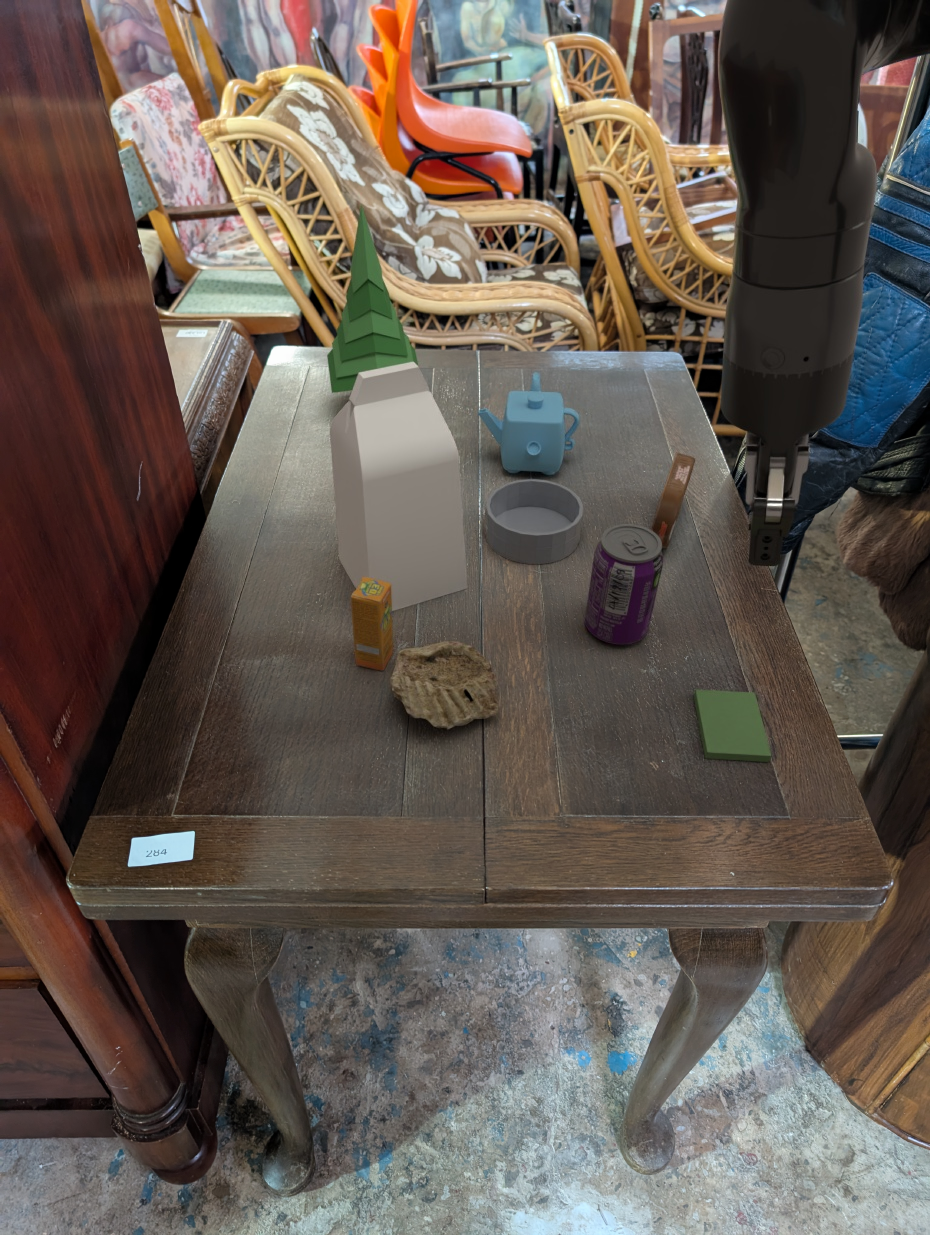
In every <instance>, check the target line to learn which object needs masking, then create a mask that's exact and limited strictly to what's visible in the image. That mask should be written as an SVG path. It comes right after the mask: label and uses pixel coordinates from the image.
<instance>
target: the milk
mask: <svg viewBox="0 0 930 1235" xmlns="http://www.w3.org/2000/svg"><path fill="white" fill-rule="evenodd" d="M329 438H330V439H329V440H330V452H331V465H332V478H333V492H334V504H335V506H334V508H335V518H336V531H337V544H338V545H337V547H338V558H339V562H340V563H341V566H342V567H343V569H344V571H345V572H346V574H347V576H348V578H349V579H350V581H351V584H352V585H353V587H354V588H355V590H356V589H357V587H358V586H359V584H360V583H361V579H362V577H368V578H372V579H376V580H381V581H384V582H388V583H390V584H391V597H392V612H395V611H398V610H401V609H405V608H408V607H412V606H415V605H419V604H421V603H424V602H428V601H431V600H434V599H437V598H438V599H439V598H440V597H444V596H447V595H450V594H453V593H458V592H460V591H463V590H467V589H468V588H469V586H468V573H467V558H466V541H465V529H464V528H465V527H464V515H463V513H464V512H463V499H462V484H461V470H460V469H461V468H460V467H461V466H460V457H459V456H460V455H459V450H458V447H457V444H456V442H455V439H454V436H453V435H452V432H451V430H450V428H449V426H448V424H447V422H446V419H445V418H444V416H443V414H442V412H441V409H440V408H439V406H438V404H437V402H436V400H435V398H434V396H433V393H432V392H431V391H430V388H429V385H428V383H427V381H426V379H425V377H424V375H423V373H422V371H421V368H420V367H419V365H418V366H417V365H416V364H415V363H414V362H409V363H404V364H399V365H394V366H389V367H384V368H379V369H374V370H369V371H364V372H359V373H358V376H357V379H356V381H355V384H354V387H353V390H351V393H350V395H349V400H348V401H347V402H346V403H345V404H344V406H342V407H341V409H340V410H339V411H338V413H337V414H336V415H334V417H333V418H332V420H331V423H330V427H329Z"/></svg>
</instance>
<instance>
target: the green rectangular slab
mask: <svg viewBox="0 0 930 1235" xmlns="http://www.w3.org/2000/svg"><path fill="white" fill-rule="evenodd" d="M693 701H694V706H695V712H696V717H697V722H698V727H699V733H700V738H701V743H702V749H703V753H704V759H706V760H707V759H708V760H724V761H727V760H728V761H741V762H759V763H769V762H770V760H771V759H772V752H771V749H770V745H769V741H768V737H767V734H766V730H765V726H764V721H763V718H762V714H761V710H760V707H759V703H758V700H757V695H756V692H749V691H732V690H713V689H695V690H694V693H693Z"/></svg>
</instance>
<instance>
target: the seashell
mask: <svg viewBox="0 0 930 1235" xmlns="http://www.w3.org/2000/svg"><path fill="white" fill-rule="evenodd" d="M389 681H390V683H389V684H390V687H391V692H393V696H394V697H395V698H396V699H397V700H399V701H401V702H402V704H403V706H404V708H405V710H406V713H407V714H408V715H409V716H410V717H411V718H413V719H420V718H421V719H424V720H427V721H428V722H429V723H430V724H431V726H432V727H435V728H438V729H447V730H450V729H452V728H454V727H462V726H465V725H468V724H469V723H470V722H473V721H474V720H480V719H483V720H485V719H489V718H490V717H495V716H497V713H498V712H499V704H498V693H497V691H498V690H497V688H496V684H495V683H496V682H497V681H498V676H497V675H496V674H495V672H493V666H492V664H490V663H489V662H488V661H487V659H486V658H485V656H484V655H483V654H482V653H480V652H479V651H478V650H476V649H475V647H474V646H473V645H471V644H465V643H464V642H461V641H456V640H455V641H451V640H445V641H440V642H437V643H431V644H428V645H424V646H420V647H417V646H416V647H410V648H404V649H401V650H399V651H398V653H397V656H396V662H395V666H394V668H393V671H392V675H391V676H390V680H389Z"/></svg>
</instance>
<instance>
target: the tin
mask: <svg viewBox="0 0 930 1235" xmlns="http://www.w3.org/2000/svg"><path fill="white" fill-rule="evenodd" d="M695 463H696V458H695V457H694V456H690V455H688V454H682V453H679V452H678V451H676V453H675V455H674V458H673V461H672V462H671V467H670V469H669V472H668V475H667V477H666V481H665V484H664V487H663V489H662V492H661V496H660V499H659V501H658V504H657V508H656V511H655V515H654V516H653V522H652V525H651V528H650V530H652V531H653V532H654V533H656V534H657V535H658V536H659V538H660V539H661V542H662V549H663V548H664V549H667V548H668V547H669V545H670V542H671V539H672V537H673V533H674V531H675V527H676V523H677V521H678V517H679V513H680V511H681V508H682V504H683V502H684V498H685V494H686V493H687V492H686V491H687V489H688V486H689V483H690V480H691V477H692V473H693V469H694V466H695Z"/></svg>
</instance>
